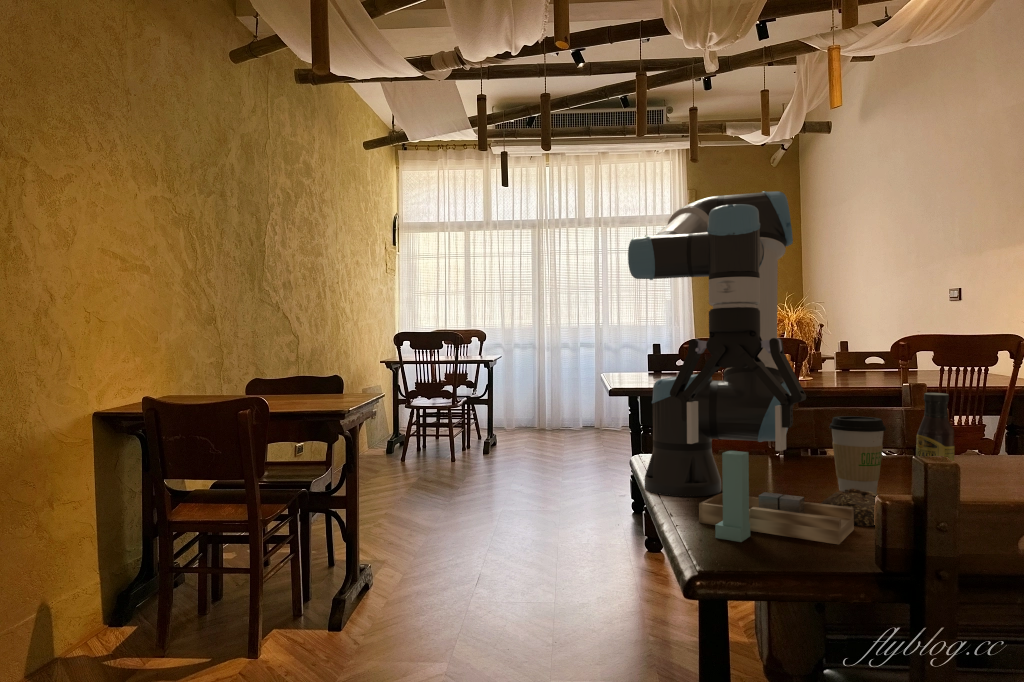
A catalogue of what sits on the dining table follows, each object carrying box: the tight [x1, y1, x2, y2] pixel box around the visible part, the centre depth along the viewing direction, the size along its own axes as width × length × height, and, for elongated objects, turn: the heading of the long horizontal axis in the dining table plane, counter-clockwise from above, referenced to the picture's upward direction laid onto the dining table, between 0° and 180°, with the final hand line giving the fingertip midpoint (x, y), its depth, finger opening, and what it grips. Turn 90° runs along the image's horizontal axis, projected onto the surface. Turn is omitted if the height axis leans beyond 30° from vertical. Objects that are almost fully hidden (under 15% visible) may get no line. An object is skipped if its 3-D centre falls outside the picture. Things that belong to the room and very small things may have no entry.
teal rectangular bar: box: [714, 450, 751, 543], centre depth 108 cm, size 4×4×13 cm
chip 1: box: [758, 491, 784, 510], centre depth 114 cm, size 3×3×3 cm
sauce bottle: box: [915, 392, 956, 462], centre depth 133 cm, size 6×6×20 cm
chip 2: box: [780, 494, 805, 514], centre depth 112 cm, size 3×3×3 cm
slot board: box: [698, 492, 855, 545], centre depth 114 cm, size 22×10×4 cm, turn 53°
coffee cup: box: [828, 415, 887, 494], centre depth 134 cm, size 10×10×15 cm
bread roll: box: [819, 488, 880, 528], centre depth 120 cm, size 13×12×5 cm
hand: (735, 446), depth 107 cm, fingers open, 13 cm apart
